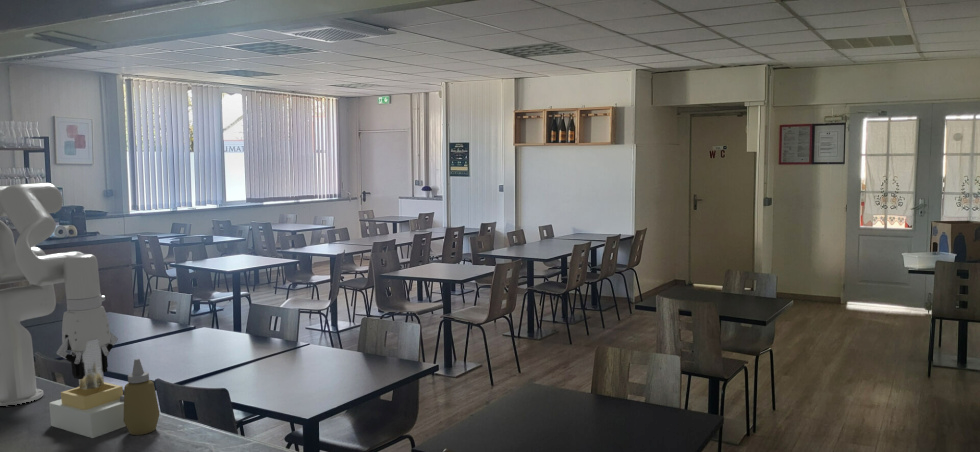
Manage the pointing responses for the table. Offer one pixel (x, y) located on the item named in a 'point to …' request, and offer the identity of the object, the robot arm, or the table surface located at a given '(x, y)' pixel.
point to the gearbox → (89, 410)
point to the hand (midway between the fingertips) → (90, 374)
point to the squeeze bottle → (140, 402)
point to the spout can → (92, 366)
